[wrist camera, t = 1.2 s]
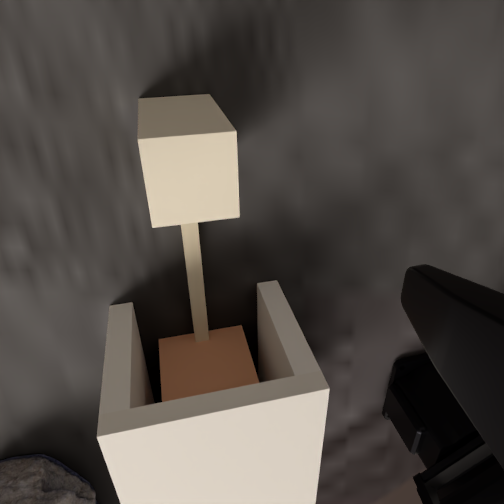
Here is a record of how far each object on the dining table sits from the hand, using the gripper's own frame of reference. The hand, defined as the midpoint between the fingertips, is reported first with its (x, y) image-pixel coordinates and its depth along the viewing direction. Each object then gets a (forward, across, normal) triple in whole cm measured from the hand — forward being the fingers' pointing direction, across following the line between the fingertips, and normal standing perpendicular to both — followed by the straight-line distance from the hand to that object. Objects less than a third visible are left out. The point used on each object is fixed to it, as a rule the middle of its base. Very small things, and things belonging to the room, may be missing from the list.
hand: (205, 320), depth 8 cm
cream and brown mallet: (+12, 0, +7) cm, 14 cm away
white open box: (+12, 0, +14) cm, 18 cm away
